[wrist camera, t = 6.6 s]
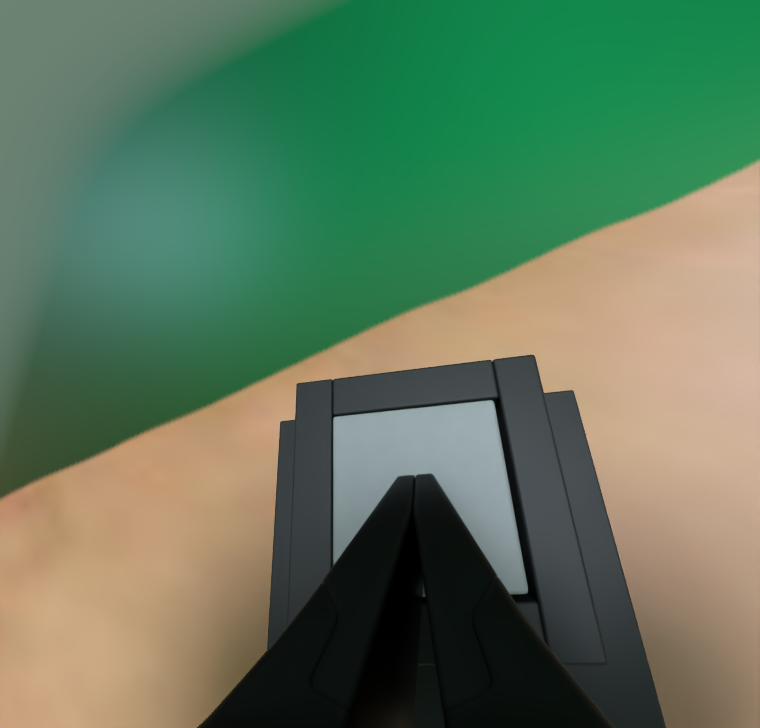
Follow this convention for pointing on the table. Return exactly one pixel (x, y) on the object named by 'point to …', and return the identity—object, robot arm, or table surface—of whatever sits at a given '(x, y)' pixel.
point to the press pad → (436, 456)
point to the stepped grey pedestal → (532, 513)
